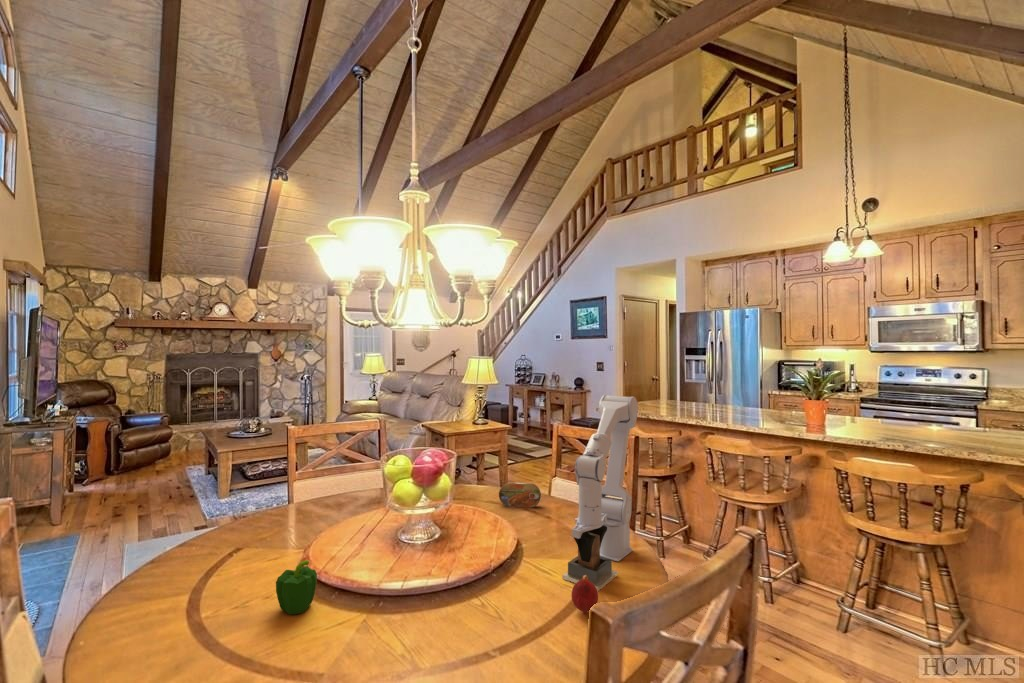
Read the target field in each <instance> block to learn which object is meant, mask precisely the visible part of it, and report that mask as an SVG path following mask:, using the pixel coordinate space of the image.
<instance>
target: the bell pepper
mask: <svg viewBox="0 0 1024 683" xmlns="http://www.w3.org/2000/svg"><path fill="white" fill-rule="evenodd" d="M309 564H310V561H309V560H308V559H307V560H306V559H305V560H303V561H301V562H299V564H297V565H296V568H295V570H293V569H285V570H284V571H283V573H282V574H280V575H279V576H278V577H277V578H276V581H275V593H276V597H277V601H278V604H279V608H280V610H282V612H285V613H287V614H289V615H292V616H293V615H299V614H301V613H305V611H306V610H307V609H308V608H309V606H310V607H311V604H312V603H313V601H314V597H315V593H316V589H317V585H318V584H317V583H318V573H317V571H316V569H312V568H310V567H309Z"/></svg>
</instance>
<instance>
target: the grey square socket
mask: <svg viewBox="0 0 1024 683" xmlns="http://www.w3.org/2000/svg"><path fill="white" fill-rule="evenodd" d="M561 575H562V578H561V579H562V580H564V579H565V581H567V582H570V581H571V582H570V583H573V582H574V583H573V584H576V583H577V582H578V581H580V580H582V578H583V576H584V575H586V576H588V580H589V581H591V582H592V583H593V584H594V585H595V587H596V589H597V592H599V591H601V590H602V589H603V588H604V587H606V586H607V585H609V583H610V582H611V581H613V580H614V579H615V578H616V577H617V576H618V571H616V570H613V560H611V559H607V558H604V557H601V556H600V566H598V567H597V568H596V569H593V568H590V567H587V566H584V565H580V564H578V555H577V556H575V557H574V558H572V559H571V560H570V561H568V562H567V571H566V572H565V573H563V574H561ZM614 577H615V578H614ZM613 578H614V579H613ZM612 579H613V580H612ZM606 584H607V585H606ZM600 589H601V590H600Z"/></svg>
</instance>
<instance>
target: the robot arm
mask: <svg viewBox="0 0 1024 683" xmlns="http://www.w3.org/2000/svg"><path fill="white" fill-rule="evenodd" d="M598 404H599V408H598V409H599V413H600V414H599V415H600V417H601V418H600V420H599V423H598V427H597V431H596V432H595V433H592V434H591V436H590V438H589V440H588V443H587V444H586V446H585V449H584V451H583V454H581V455H580V456H577V458H576V460H575V464H574V465H575V466H574V474H575V478H576V485H577V486H578V516H577V517H576V518H574V521H575V523H576V524H575V526H574V527H572V528H571V537H572V538H573V539H574V541H575V543H576V545H577V550H578V549H579V552H580V557H581V560H582V561H585V562H590V558H591V550H592V545H593V542H594V539H595V537H596V536H593V535H590V533H593V534H597V535H600V557H603V558H606V559H609V560H612V561H615V562H620V561H621V560H623V559H624V558H625V557H626V556H628V555H629V554H630V553H632V552H633V551H634V550H633V548H632V547H631V546H630V544H631V543H630V541H631V540H630V539H631V538H630V537H631V535H630V534H631V530H630V529H631V528H630V525H629V521H630V519H631V517H632V496H631V494H630V493H629V492H628V491H627V490H626V489H625V488H624V487H623V486H624V478H625V477H624V476H625V468H626V460H627V453H628V451H627V450H628V446H629V445H628V444H629V436H630V432H631V429H633V428H635V427H636V424H637V421H638V419H637V418H638V411H639V406H638V405H639V404H638V401H637V398H636V397H635V396H624V395H623V396H622V395H621V396H619V395H607V394H603V395H602V396H601V398H600V399H599V403H598ZM607 457H608V459H607ZM606 459H607V460H608V461H607V460H606ZM606 467H607V469H606ZM605 474H606V476H605ZM604 477H605V483H604V485H602V484H603V482H602V481H603V480H604ZM608 496H609V497H608ZM588 532H589V533H588Z"/></svg>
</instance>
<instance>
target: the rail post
mask: <svg viewBox="0 0 1024 683" xmlns="http://www.w3.org/2000/svg"><path fill="white" fill-rule="evenodd" d="M588 533H589V532H588ZM590 535H593V536H596V537H595V539H594V542H593V545H592V550H591V558H590V562H585V561H582V560H581V557H580V552H579V549H578V548H577V556H578V564H580V565H584V566H587V567H590V568H593V569H596V568H597V567H598V566H600V557H601V556H600V535H597V534H593V533H590Z"/></svg>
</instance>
